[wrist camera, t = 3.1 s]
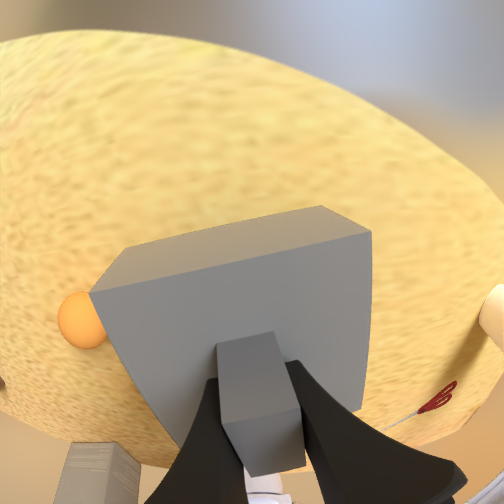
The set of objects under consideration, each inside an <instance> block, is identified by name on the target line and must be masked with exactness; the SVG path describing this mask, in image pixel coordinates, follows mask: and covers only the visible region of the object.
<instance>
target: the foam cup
mask: <svg viewBox="0 0 504 504" xmlns="http://www.w3.org/2000/svg"><path fill="white" fill-rule="evenodd" d="M479 325H480V326H481V327H482V328H483V330H484V331H485V332H486V333H487V334H488V336H489V337H490V338H491V339H492V340H493V341H494V343H495V344H496V345H497V346H498V347H499V348H500V350H501V351H502V352H503V353H504V285H502V284H499V285H497V286H496V287H494V288H493V290H492V291H491V292H490V294H489V295H488V296H487V298H486V300H485V302H484V304H483V306H482V309H481V312H480V315H479Z"/></svg>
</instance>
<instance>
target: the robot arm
mask: <svg viewBox="0 0 504 504" xmlns="http://www.w3.org/2000/svg"><path fill="white" fill-rule="evenodd" d="M285 366H286V368H287V371H288V374H289V377H290V380H291V383H292V385H293V388H294V391H295V394H296V397H297V400H298V402H299V405H300V410H301V419H302V428H303V437H304V447H305V450H306V452H307V454H308V457H309V459H310V461H311V463H312V466H313V468H314V471H315V473H316V477H317V480H318V483H319V486H320V489H321V493H322V496H323V499H324V502H325V504H455V501H454V499H453V497H452V495H454V494H455V493H456V492H457V491H458V490H460V489H461V488H462V487H463V486H464V485H465V484H466V483H467V481H468V479H467V478H466V476H465V475H464V473H463V472H462V471H461V469H460V468H459V467H458V466H457V465H456V464H455V463H454V462H453V461H450V460H446V459H442V458H439V457H436V456H432V455H429V454H426V453H423V452H421V451H418V450H416V449H413V448H411V447H408V446H406V445H404V444H402V443H400V442H398V441H396V440H394V439H392V438H390V437H388V436H386V435H384V434H382V433H381V432H379V431H377V430H375V429H374V428H372V427H371V426H369V425H368V424H366V423H365V422H363V421H362V420H360V419H359V418H357V417H356V416H355V415H353V414H352V413H351V412H350V411H348V410H347V409H346V408H345V407H343V406H342V405H341V404H340V403H339V402H338V401H336V400H335V399H334V398H333V397H332V396H331V395H330V394H329V393H328V392H327V391H326V390H325V389H324V388H323V387H322V386H321V385H320V384H319V383H318V382H317V381H316V380H315V379H314V378H313V377H312V375H311V374H310V373H309V372H308V371H307V369H306V368H305V367H304V366H303V364H302V363H301V361H299V360H293V361H289V362H285ZM144 504H301V503H300V502H299V501H293V502H292V501H291V498H290V494H284V490H283V486H282V482H281V478H280V474H279V473H275V474H270V475H265V476H259V477H254V478H251V477H250V475H249V474H248V472H247V470H246V468H245V467H244V465H243V463H242V461H241V460H240V458H239V456H238V454H237V452H236V450H235V449H234V447H233V445H232V443H231V441H230V439H229V437H228V435H227V433H226V431H225V429H224V427H223V425H222V421H221V408H220V394H219V379H218V377H216V378H210V379H208V380H207V381H206V385H205V389H204V392H203V396H202V399H201V402H200V405H199V408H198V411H197V413H196V416H195V419H194V421H193V424H192V426H191V429H190V431H189V433H188V435H187V438H186V440H185V442H184V444H183V446H182V448H181V450H180V452H179V454H178V456H177V458H176V459H175V461H174V463H173V464H172V466H171V468H170V469H169V471H168V472H167V474H166V475H165V477H164V478H163V480H162V481H161V483H160V484H159V486H158V487H157V488H156V490H155V491H154V492H153V493H152V495H151V496H150V497H149V498H148V499H147V500H146V502H145V503H144ZM464 504H504V470H502V471H501V472H500V473H499V474H498V475H497V476H496V478H495V479H494V480H492V481H491V482H490V483H489V484H488V485H487V486H486V487H484V488H483V489H482V490H481V491H479V492H478V493H477V494H476V495H475V496H473V497H472V498H470V499H469V500H468V501H467V502H465V503H464Z"/></svg>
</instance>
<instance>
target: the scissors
mask: <svg viewBox="0 0 504 504" xmlns="http://www.w3.org/2000/svg"><path fill="white" fill-rule="evenodd" d="M452 385H453V387H452V388H451V389H450V390H448V391H447V392H445V393H443V392H444V391H446V390H447V389H448V388H449V387H451V386H452ZM456 385H457V382H456V381H454V382H452V383H451V384H449V385H448V386H446V387H445V388H444V389H443V390H442V391H441V392H439V393H438V394H437V395H436V396H435V397H434V398H432V399H431V400H430V401H429V402H428V403H426V404H425V405H424V406H422V407H421V408H420V409H419V410H417V411H416V412H414V413H413V414H411V415H409V416H408V417H406V418H404V419H402V420H400V421H398V422H396V423H394V424H392V425H391V426H389V427H392V426H394V425H396V424H398V423H400V422H402V421H404V420H406V419H408V418H410V417H412V416H414V415H416V414H417V413H418V414H421V413H424V412H427V411H430V410H433V409H436V408H439V407H441V406H443V405H444V404H446V403H447V402H448V401H449V400H450V399H451V397H452V394H448V393H450V392H451V391H452V390H453V389H454V388H455V387H456ZM442 393H443V394H442ZM441 394H442V395H441ZM447 394H448V395H447ZM445 395H446V396H445ZM443 396H445V397H443ZM442 397H443V398H442ZM448 397H449V398H448ZM440 398H442V399H440ZM446 398H448V399H447V400H446V401H445V402H443V403H441V404H439V403H440V402H442V401H443V400H445V399H446ZM439 399H440V400H439ZM437 400H439V401H437ZM436 401H437V402H436ZM437 404H439V405H437ZM436 405H437V406H436ZM389 427H387V428H389ZM387 428H384V429H382V430H380V431H383V430H385V429H387Z"/></svg>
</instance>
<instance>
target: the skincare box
mask: <svg viewBox="0 0 504 504" xmlns="http://www.w3.org/2000/svg"><path fill="white" fill-rule="evenodd" d="M140 474H141V464H140V463H138V462H137V461H136V460H135V459H134V458H132V457H131V456H130V455H129V454H128V453H127V452H126V451H125V450H124V449H123V448H122V447H120V446H119V445H118V444H117V443H116V442H106V443H71V446H70V449H69V452H68V455H67V458H66V461H65V465H64V468H63V471H62V474H61V478H60V481H59V485H58V488H57V492H56V495H55V499H54V503H53V504H138V493H139V483H140V482H139V481H140Z"/></svg>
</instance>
